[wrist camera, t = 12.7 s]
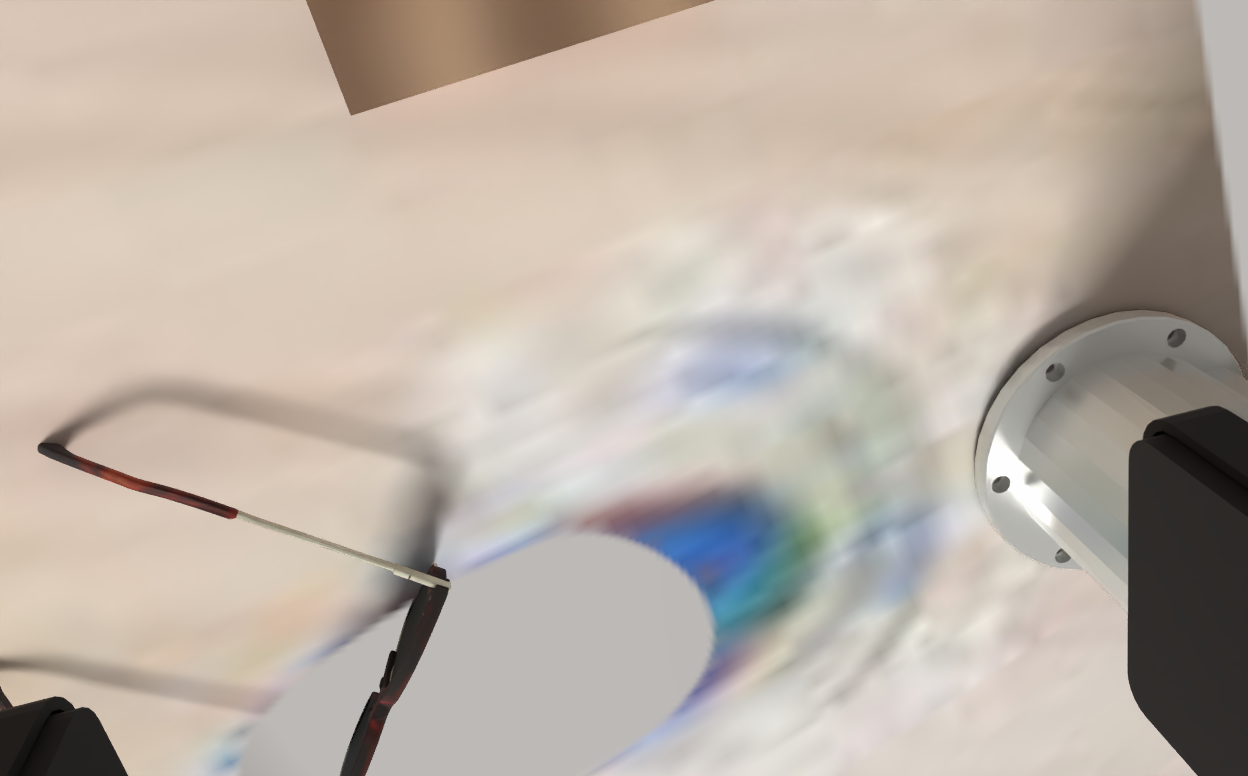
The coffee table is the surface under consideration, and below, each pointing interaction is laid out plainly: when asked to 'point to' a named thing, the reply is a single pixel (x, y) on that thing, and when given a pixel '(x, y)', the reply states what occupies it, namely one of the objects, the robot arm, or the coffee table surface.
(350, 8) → the walnut block
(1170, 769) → the coffee table surface
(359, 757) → the sunglasses
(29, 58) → the coffee table surface
